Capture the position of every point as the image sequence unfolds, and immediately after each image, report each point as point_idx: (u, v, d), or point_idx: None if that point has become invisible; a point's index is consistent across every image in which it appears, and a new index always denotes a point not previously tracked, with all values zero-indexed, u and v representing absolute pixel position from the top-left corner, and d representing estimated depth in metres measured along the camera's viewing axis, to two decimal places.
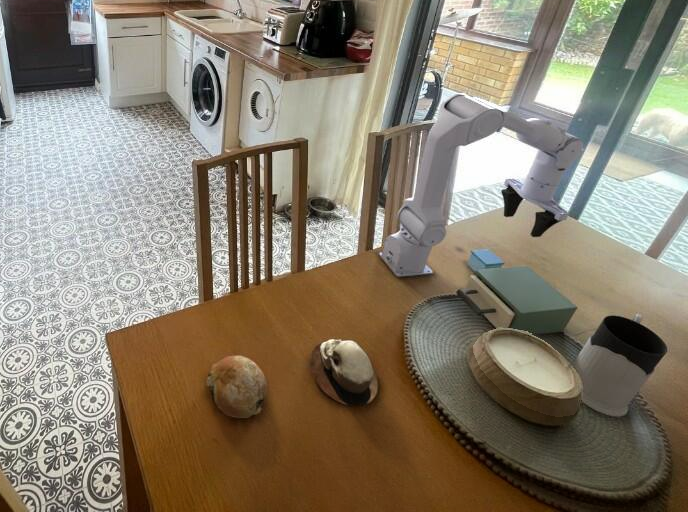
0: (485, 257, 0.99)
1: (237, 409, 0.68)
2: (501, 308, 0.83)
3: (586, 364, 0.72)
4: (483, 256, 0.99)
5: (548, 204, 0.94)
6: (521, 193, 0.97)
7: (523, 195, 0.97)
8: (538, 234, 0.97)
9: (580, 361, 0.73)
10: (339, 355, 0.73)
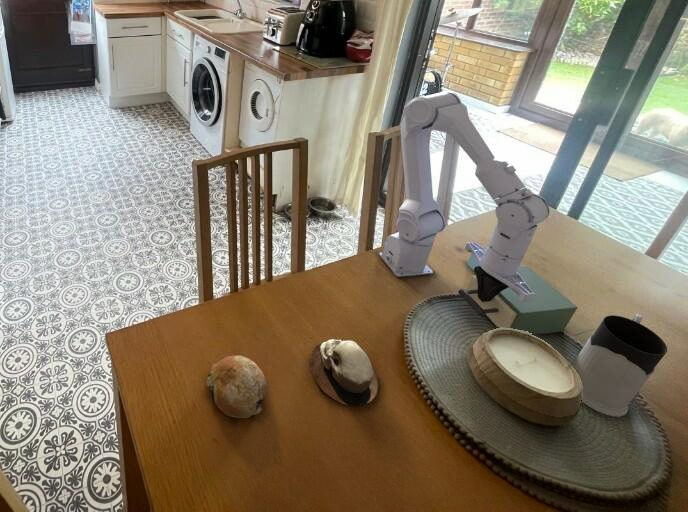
0: None
1: (237, 409, 0.68)
2: (503, 308, 0.83)
3: (586, 364, 0.72)
4: None
5: (512, 280, 0.80)
6: (482, 264, 0.83)
7: (484, 267, 0.83)
8: (488, 299, 0.85)
9: (580, 361, 0.73)
10: (339, 355, 0.73)
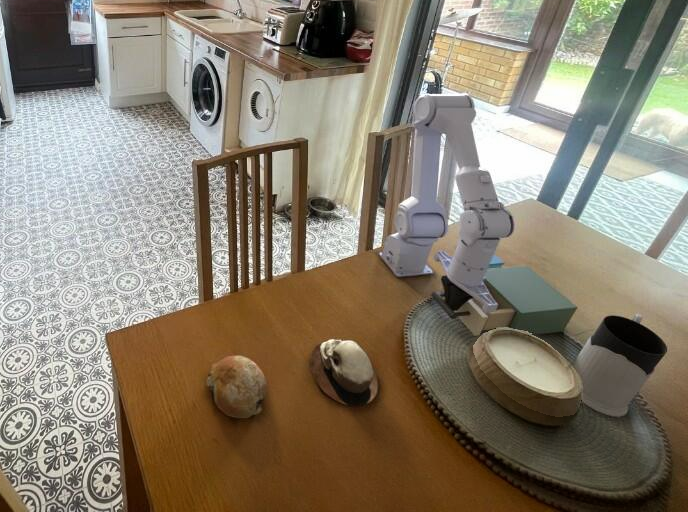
0: None
1: (237, 409, 0.68)
2: (475, 311, 0.83)
3: (586, 364, 0.72)
4: None
5: (476, 290, 0.80)
6: (448, 274, 0.83)
7: (450, 276, 0.83)
8: (455, 308, 0.86)
9: (580, 361, 0.73)
10: (339, 355, 0.73)
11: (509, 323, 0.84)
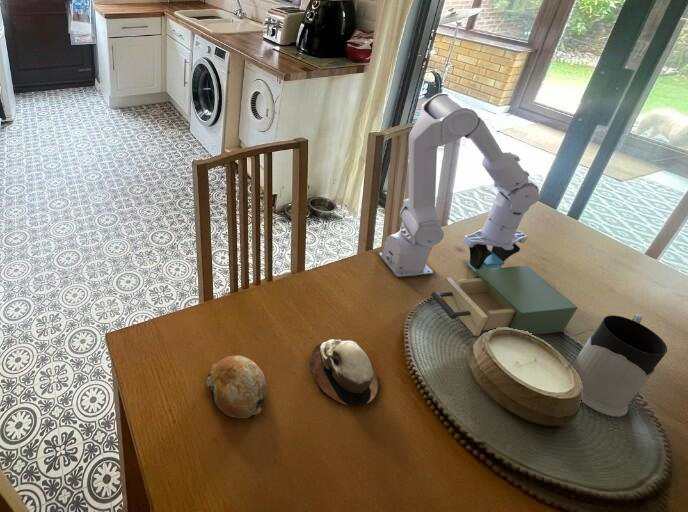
0: None
1: (237, 409, 0.68)
2: (475, 311, 0.83)
3: (586, 364, 0.72)
4: None
5: None
6: None
7: None
8: (473, 264, 1.00)
9: (580, 361, 0.73)
10: (339, 355, 0.73)
11: (509, 323, 0.84)
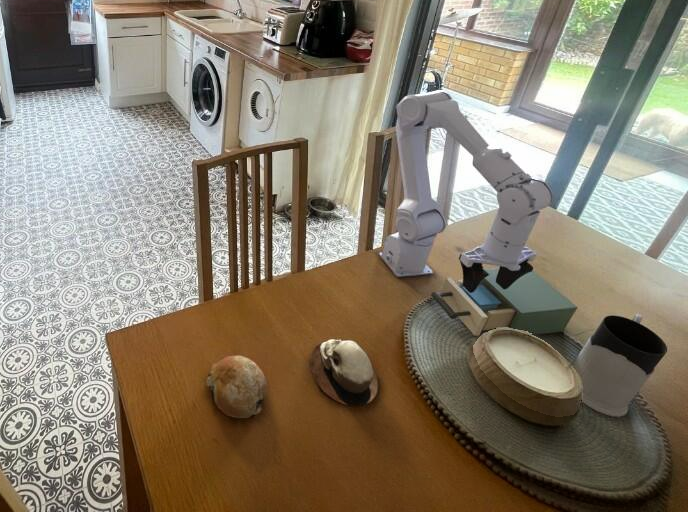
0: (479, 295, 0.86)
1: (237, 409, 0.68)
2: (475, 311, 0.83)
3: (586, 364, 0.72)
4: (476, 294, 0.86)
5: None
6: None
7: None
8: (467, 286, 0.84)
9: (580, 361, 0.73)
10: (339, 355, 0.73)
11: (509, 323, 0.84)
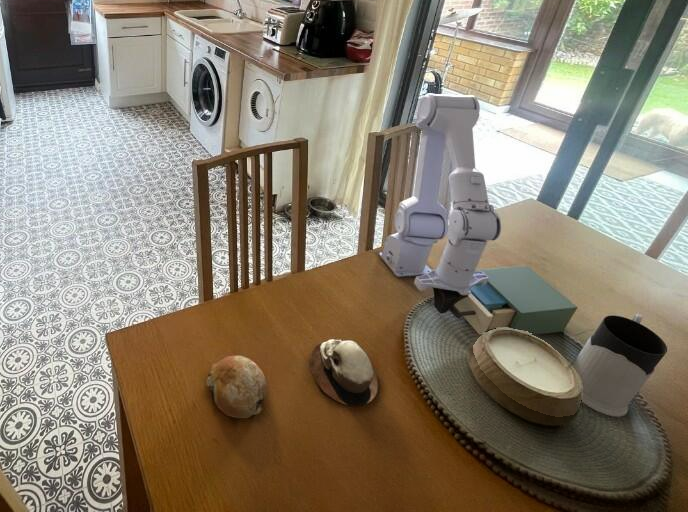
0: (484, 295, 0.86)
1: (237, 409, 0.68)
2: (480, 310, 0.83)
3: (586, 364, 0.72)
4: (481, 294, 0.86)
5: None
6: None
7: None
8: (437, 307, 0.86)
9: (580, 361, 0.73)
10: (339, 355, 0.73)
11: None
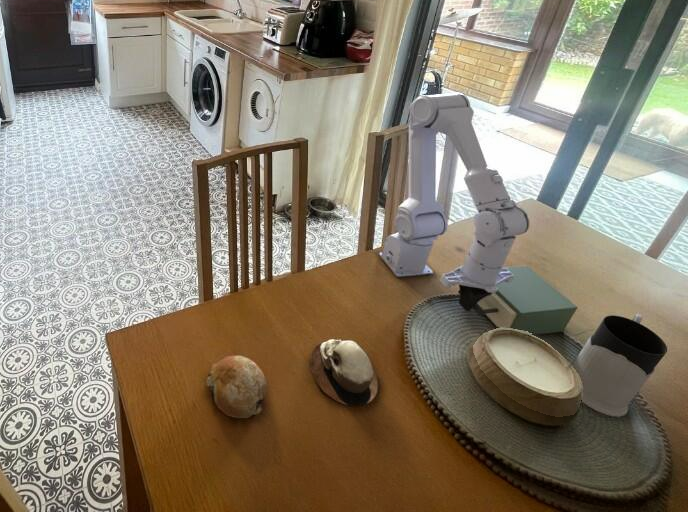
0: None
1: (237, 409, 0.68)
2: (503, 308, 0.83)
3: (586, 364, 0.72)
4: None
5: (461, 276, 0.83)
6: None
7: None
8: (464, 304, 0.87)
9: (580, 361, 0.73)
10: (339, 355, 0.73)
11: None
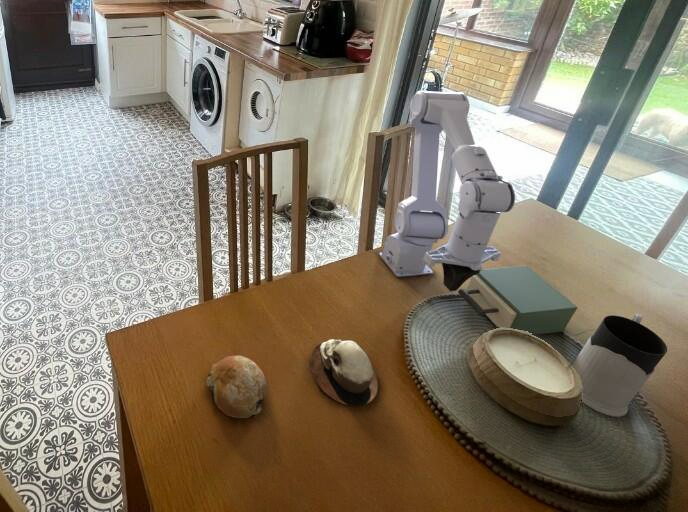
0: None
1: (237, 409, 0.68)
2: (503, 308, 0.83)
3: (586, 364, 0.72)
4: None
5: (445, 254, 0.80)
6: None
7: None
8: (447, 284, 0.83)
9: (580, 361, 0.73)
10: (339, 355, 0.73)
11: None
